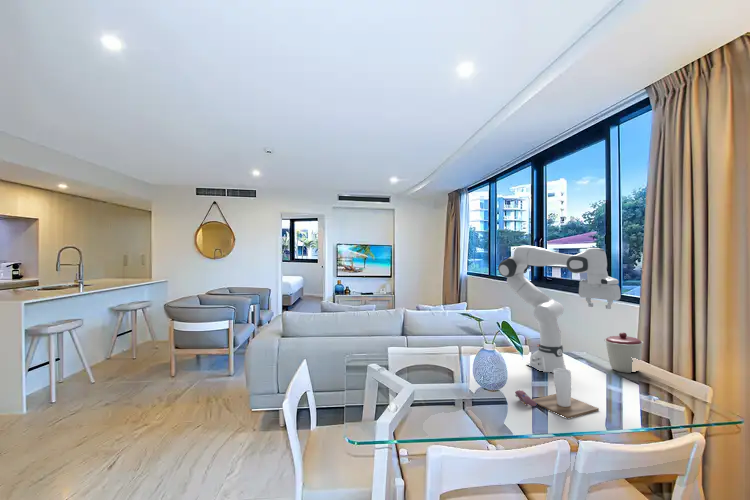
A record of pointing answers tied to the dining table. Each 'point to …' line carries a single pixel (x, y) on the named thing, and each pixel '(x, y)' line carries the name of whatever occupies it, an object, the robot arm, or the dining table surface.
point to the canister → (623, 351)
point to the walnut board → (568, 412)
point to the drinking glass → (563, 386)
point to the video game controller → (525, 398)
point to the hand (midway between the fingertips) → (599, 307)
